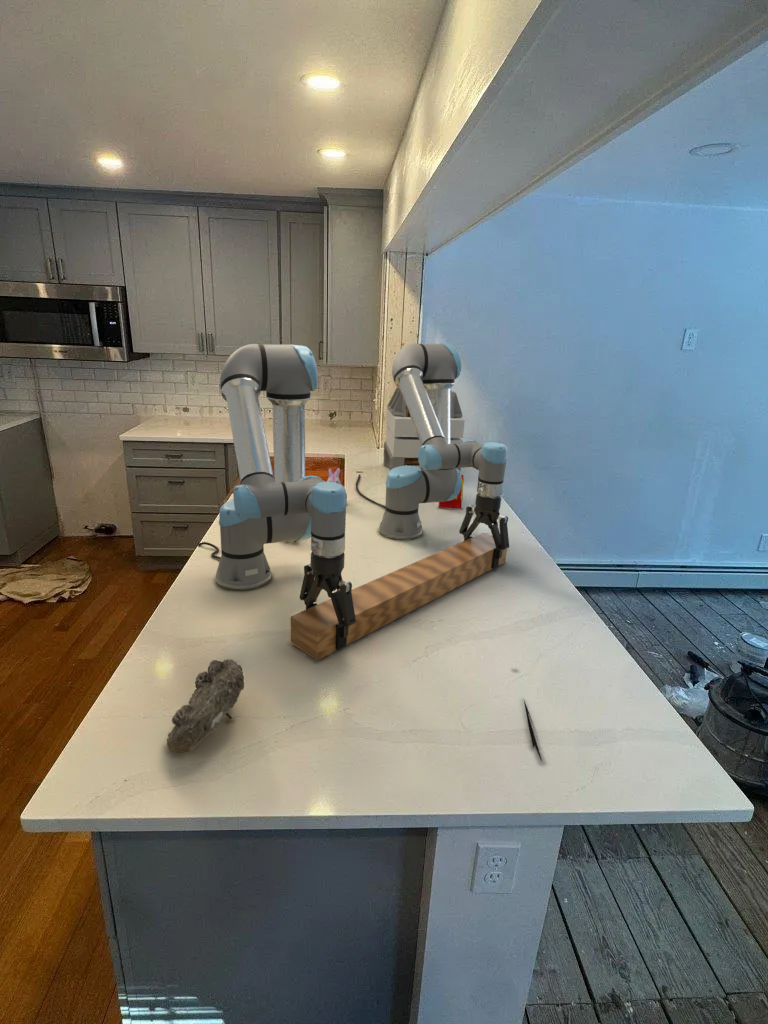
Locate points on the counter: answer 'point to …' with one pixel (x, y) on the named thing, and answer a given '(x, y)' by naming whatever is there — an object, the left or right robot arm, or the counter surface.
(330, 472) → the figurine
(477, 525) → the right robot arm
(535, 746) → the feather
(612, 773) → the counter surface
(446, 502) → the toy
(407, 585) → the wooden beam
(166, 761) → the counter surface
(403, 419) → the grey wooden crate
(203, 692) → the fossil
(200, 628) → the counter surface
